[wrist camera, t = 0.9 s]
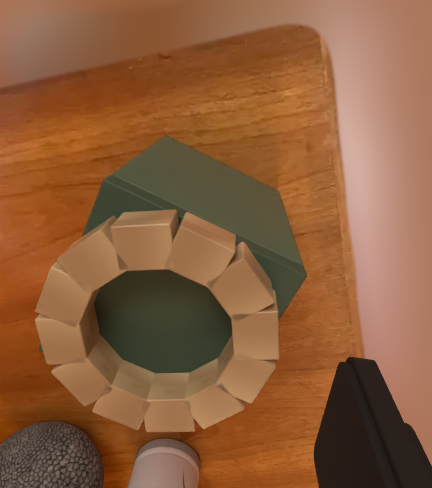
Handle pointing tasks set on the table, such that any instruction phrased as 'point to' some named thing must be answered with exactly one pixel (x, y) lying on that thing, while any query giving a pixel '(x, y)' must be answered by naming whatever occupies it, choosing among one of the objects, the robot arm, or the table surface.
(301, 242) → the table surface
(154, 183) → the block
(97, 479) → the decorative ball
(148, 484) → the travel mug
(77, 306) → the ring
